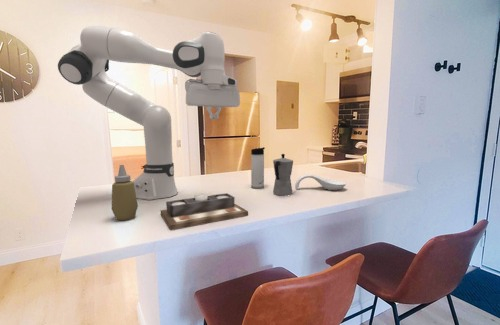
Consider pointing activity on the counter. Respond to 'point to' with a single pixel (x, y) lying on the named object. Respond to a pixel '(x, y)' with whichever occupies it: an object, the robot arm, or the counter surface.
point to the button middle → (201, 197)
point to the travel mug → (257, 168)
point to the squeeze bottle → (123, 196)
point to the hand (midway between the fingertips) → (214, 119)
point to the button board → (201, 211)
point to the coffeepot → (282, 176)
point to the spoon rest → (323, 182)
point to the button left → (177, 203)
